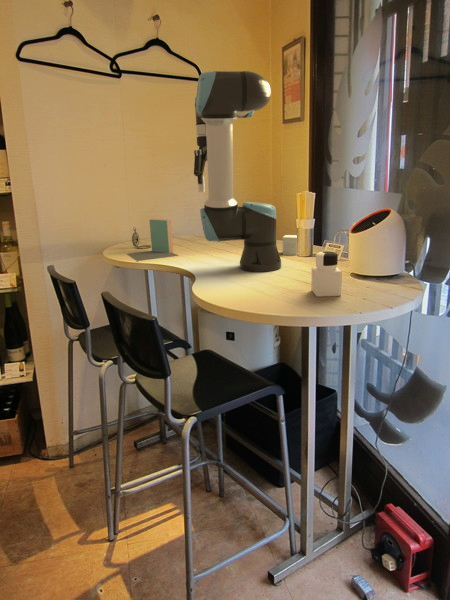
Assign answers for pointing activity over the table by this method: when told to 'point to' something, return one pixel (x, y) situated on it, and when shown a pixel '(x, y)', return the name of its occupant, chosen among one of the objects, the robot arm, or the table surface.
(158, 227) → the tile
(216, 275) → the table surface
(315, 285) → the medicine bottle
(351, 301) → the table surface
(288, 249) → the product box
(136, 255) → the mat
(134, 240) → the pocket watch
